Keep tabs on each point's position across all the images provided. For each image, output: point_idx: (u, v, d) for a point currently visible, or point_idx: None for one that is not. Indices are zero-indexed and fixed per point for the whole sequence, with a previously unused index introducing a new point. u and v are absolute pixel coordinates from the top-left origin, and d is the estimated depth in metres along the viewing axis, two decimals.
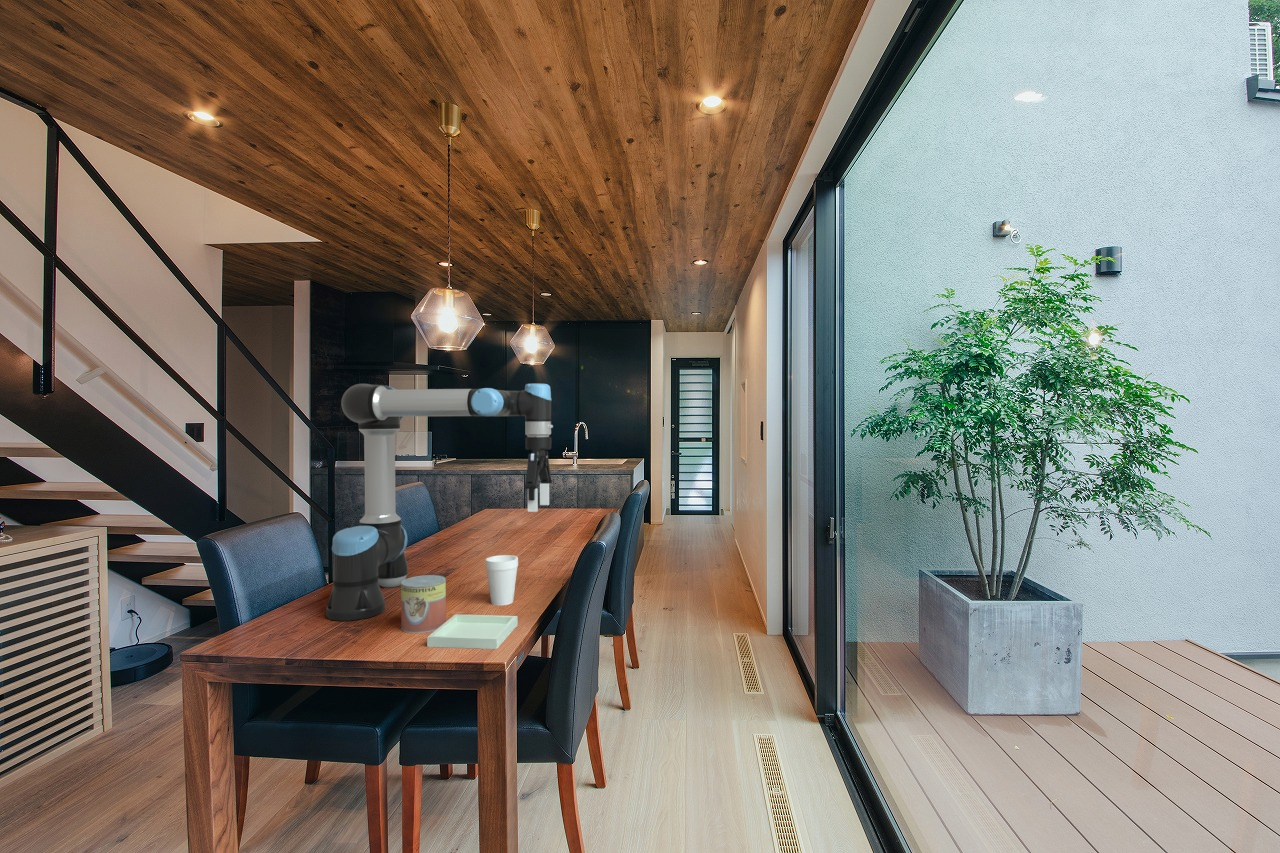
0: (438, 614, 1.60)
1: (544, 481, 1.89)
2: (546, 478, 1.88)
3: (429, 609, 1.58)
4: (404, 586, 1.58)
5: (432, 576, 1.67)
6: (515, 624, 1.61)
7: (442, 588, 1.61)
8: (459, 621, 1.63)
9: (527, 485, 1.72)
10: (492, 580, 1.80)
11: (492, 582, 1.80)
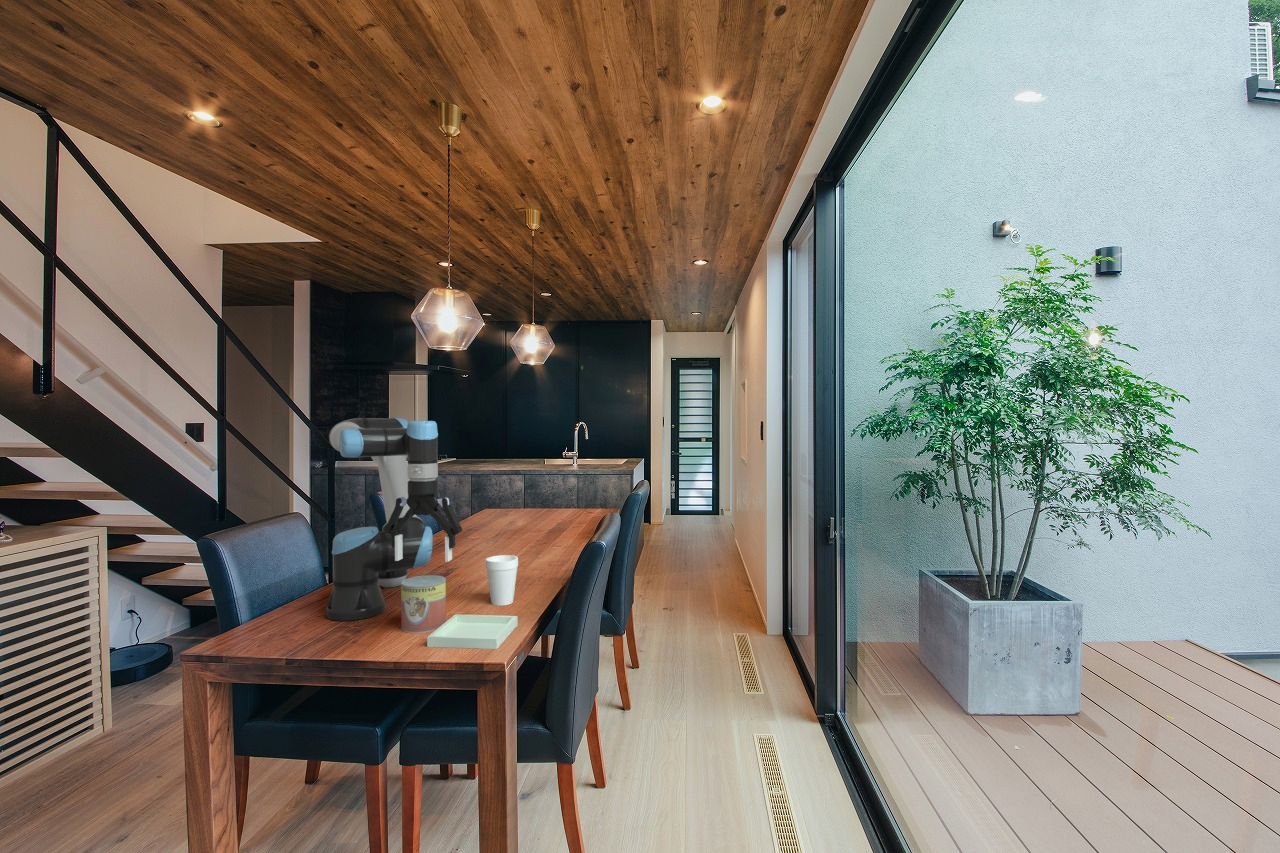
0: (438, 614, 1.60)
1: None
2: None
3: (429, 609, 1.58)
4: (404, 586, 1.58)
5: (432, 576, 1.67)
6: (515, 624, 1.61)
7: (442, 588, 1.61)
8: (459, 621, 1.63)
9: None
10: (492, 580, 1.80)
11: (492, 582, 1.80)
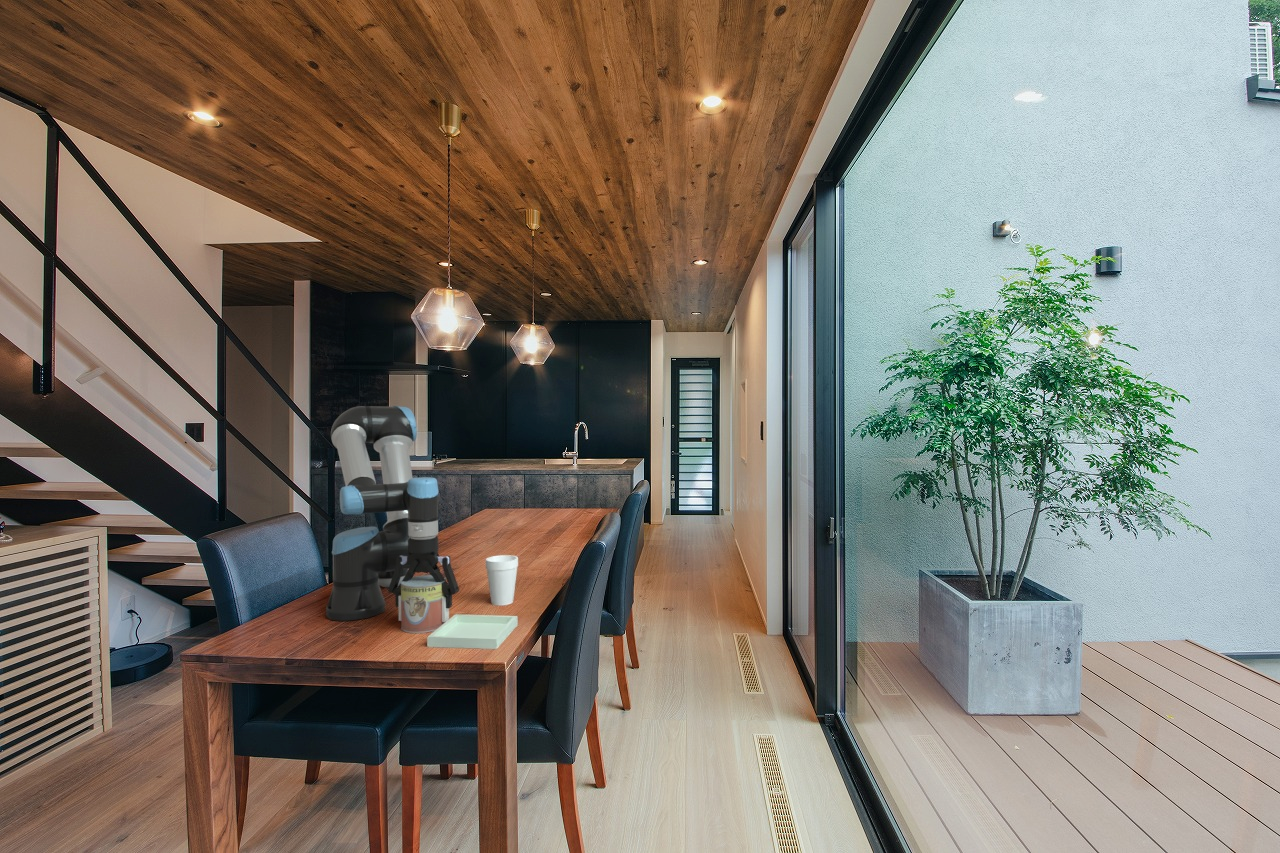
0: (438, 614, 1.60)
1: None
2: None
3: (429, 609, 1.58)
4: (404, 586, 1.58)
5: (432, 576, 1.67)
6: (515, 624, 1.61)
7: None
8: (459, 621, 1.63)
9: None
10: (492, 580, 1.80)
11: (492, 582, 1.80)
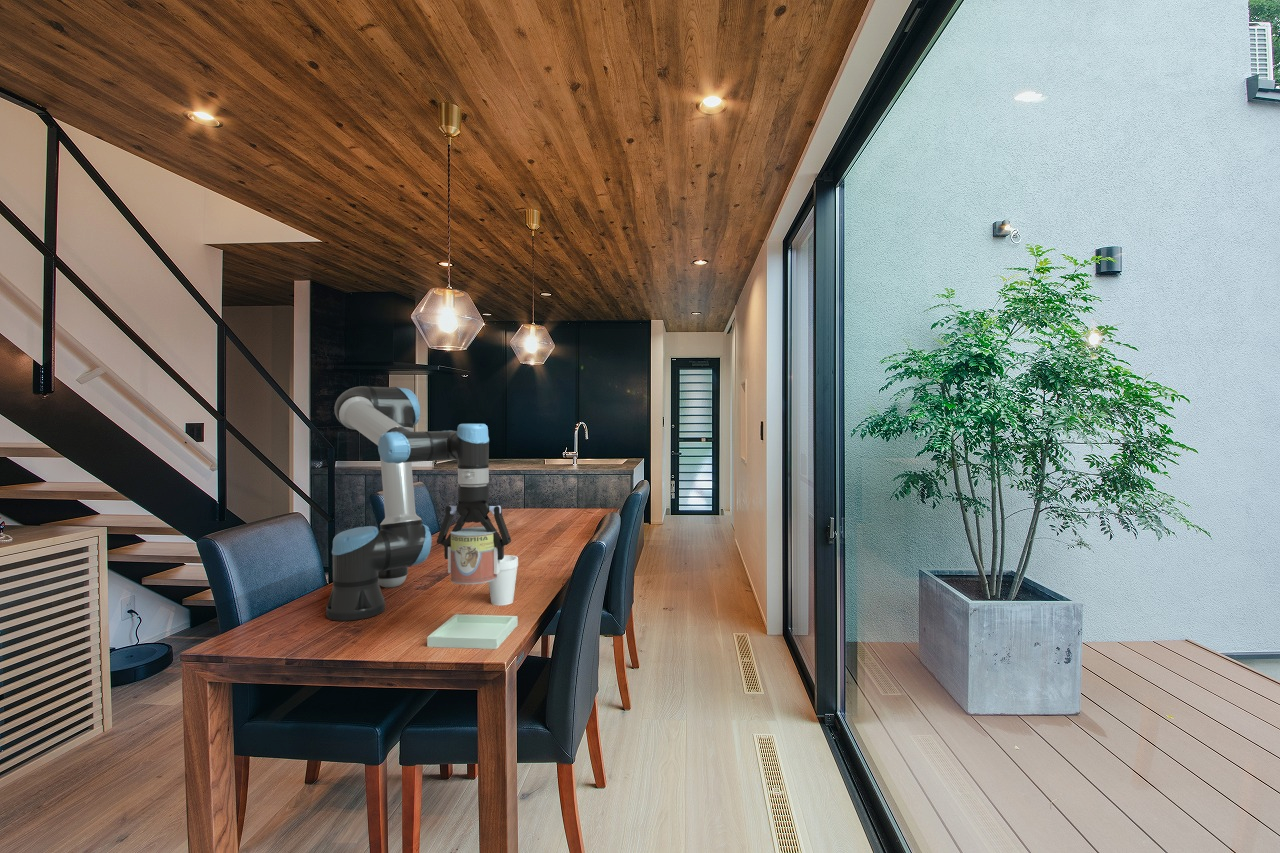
0: (490, 565, 1.52)
1: None
2: None
3: (481, 559, 1.50)
4: (455, 535, 1.50)
5: (481, 527, 1.59)
6: (515, 624, 1.61)
7: None
8: (459, 621, 1.63)
9: None
10: None
11: (492, 582, 1.80)
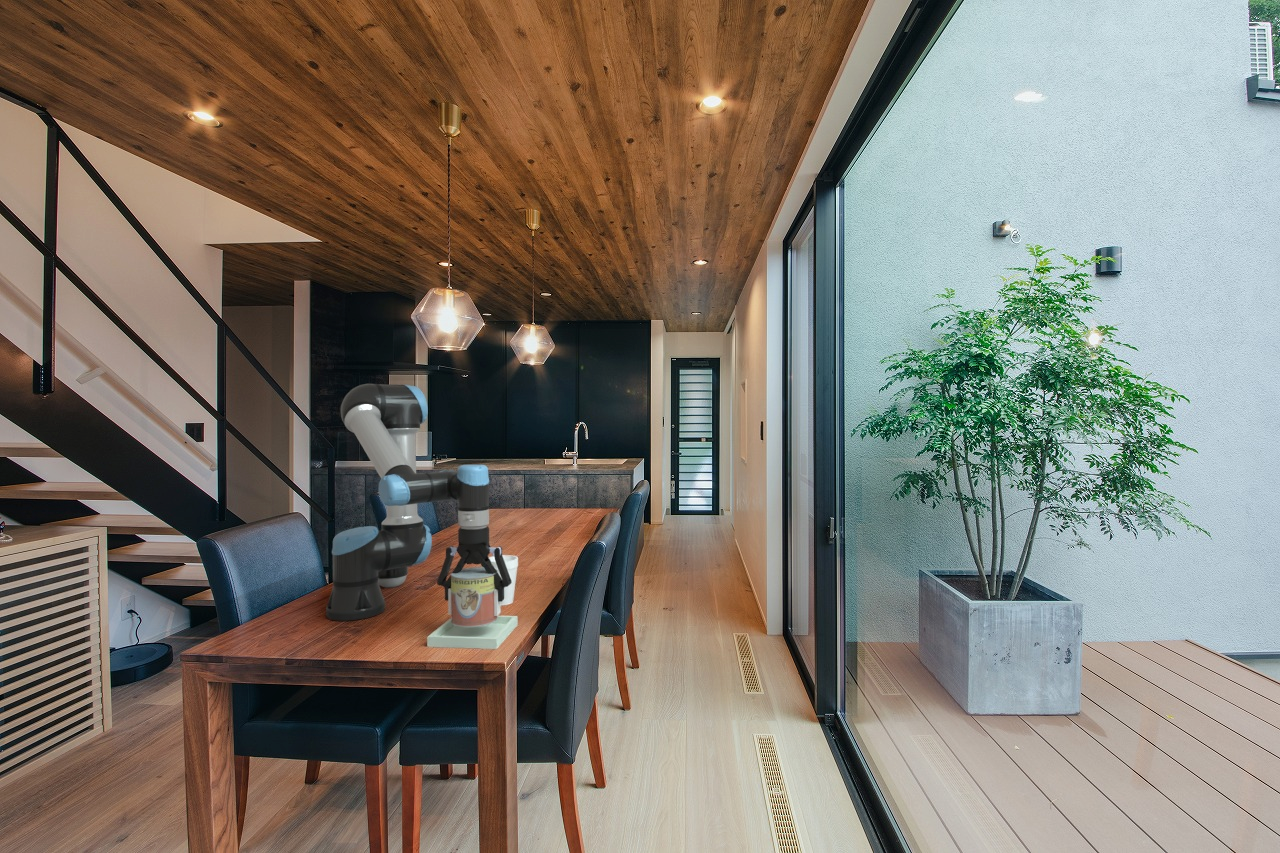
0: (490, 607, 1.52)
1: None
2: None
3: (482, 602, 1.51)
4: (455, 578, 1.51)
5: (482, 568, 1.59)
6: (515, 624, 1.61)
7: None
8: None
9: None
10: None
11: None
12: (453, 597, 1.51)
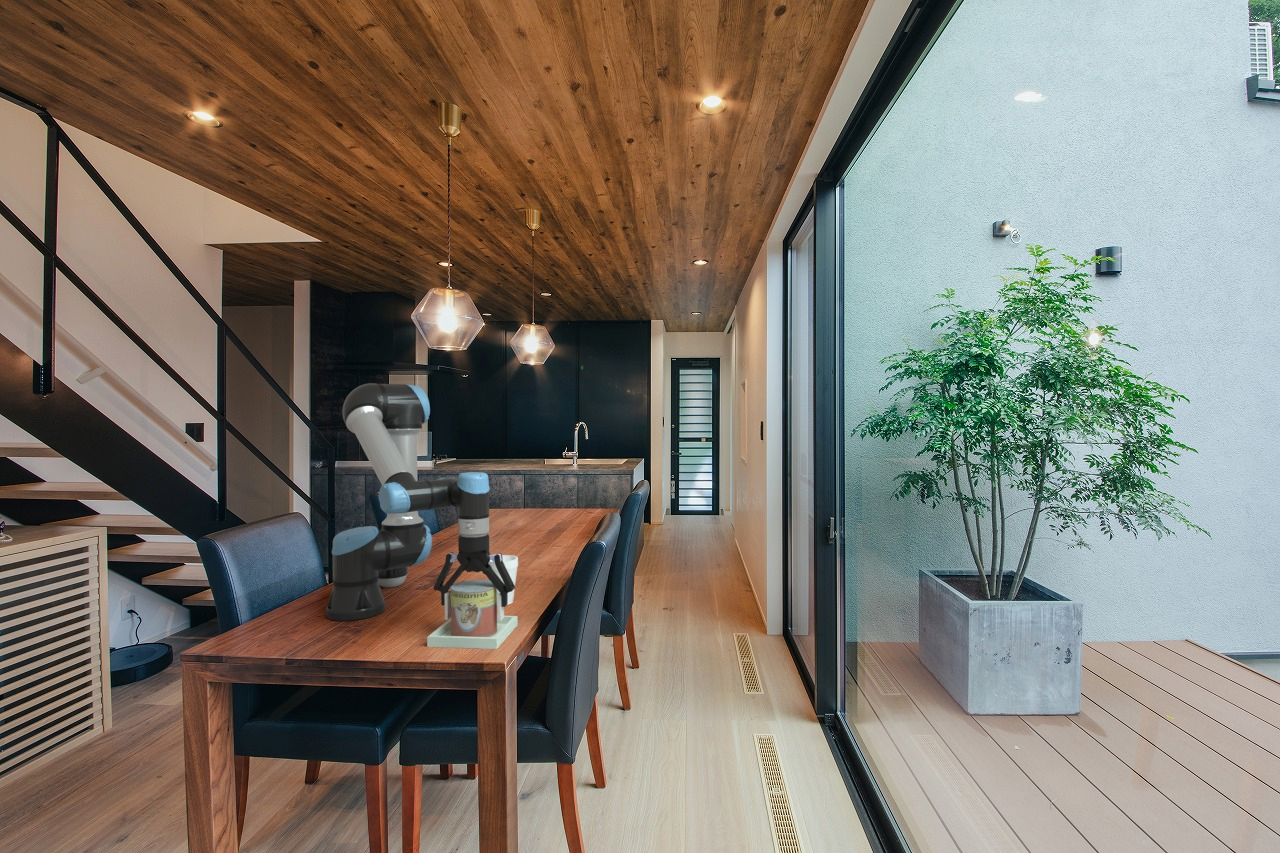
0: (490, 620, 1.52)
1: None
2: None
3: (482, 616, 1.51)
4: (455, 591, 1.51)
5: (481, 581, 1.60)
6: (515, 624, 1.61)
7: (493, 593, 1.54)
8: None
9: None
10: None
11: None
12: (453, 610, 1.52)
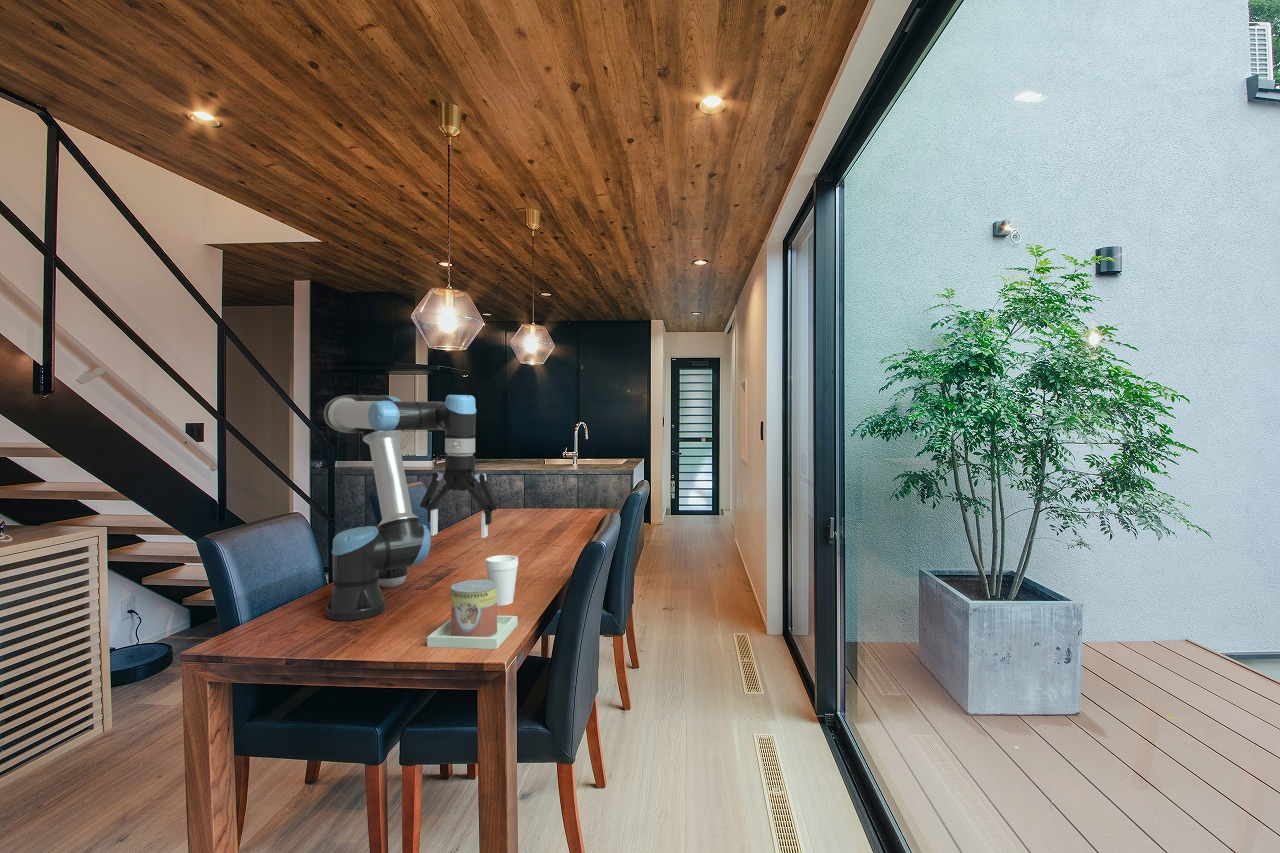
0: (490, 620, 1.52)
1: None
2: None
3: (482, 616, 1.51)
4: (455, 591, 1.51)
5: (482, 581, 1.60)
6: (515, 624, 1.61)
7: (493, 593, 1.54)
8: None
9: None
10: (492, 580, 1.80)
11: None
12: (453, 610, 1.52)
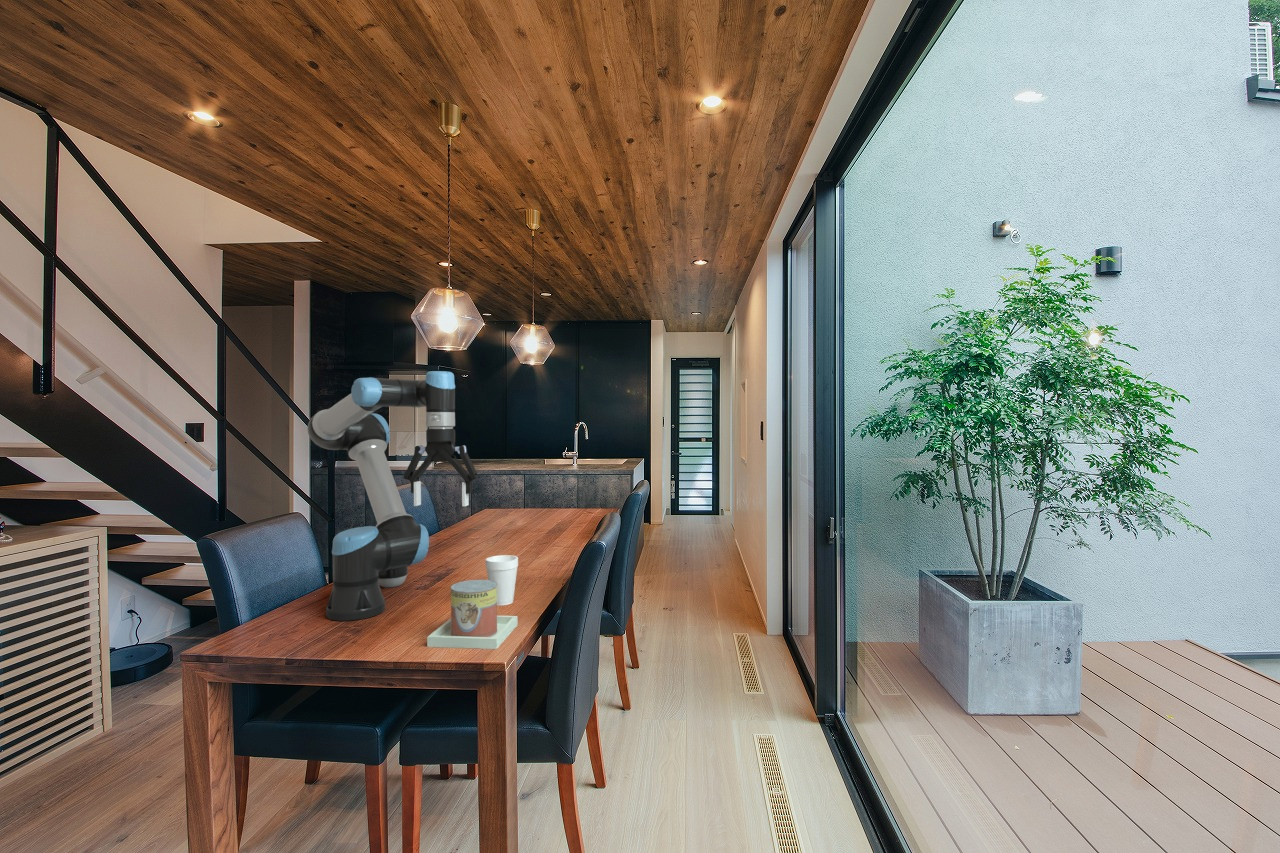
0: (490, 620, 1.52)
1: None
2: None
3: (482, 616, 1.51)
4: (455, 591, 1.51)
5: (482, 581, 1.60)
6: (515, 624, 1.61)
7: (493, 593, 1.54)
8: None
9: None
10: (492, 580, 1.80)
11: None
12: (453, 610, 1.52)
